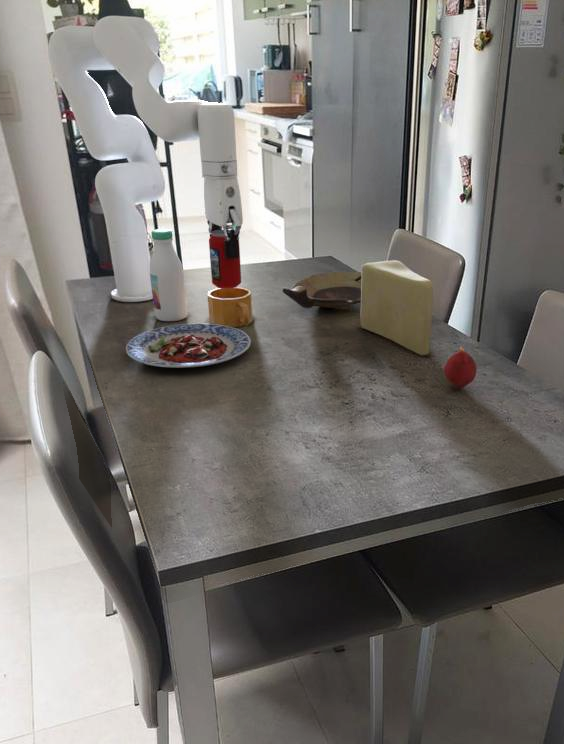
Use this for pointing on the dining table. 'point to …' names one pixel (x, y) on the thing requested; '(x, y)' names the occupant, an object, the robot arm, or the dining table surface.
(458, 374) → the onion
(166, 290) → the milk bottle
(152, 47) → the robot arm
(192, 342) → the ceramic plate
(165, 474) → the dining table surface
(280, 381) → the dining table surface
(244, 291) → the mug
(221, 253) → the beverage can
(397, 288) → the cheese
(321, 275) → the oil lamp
